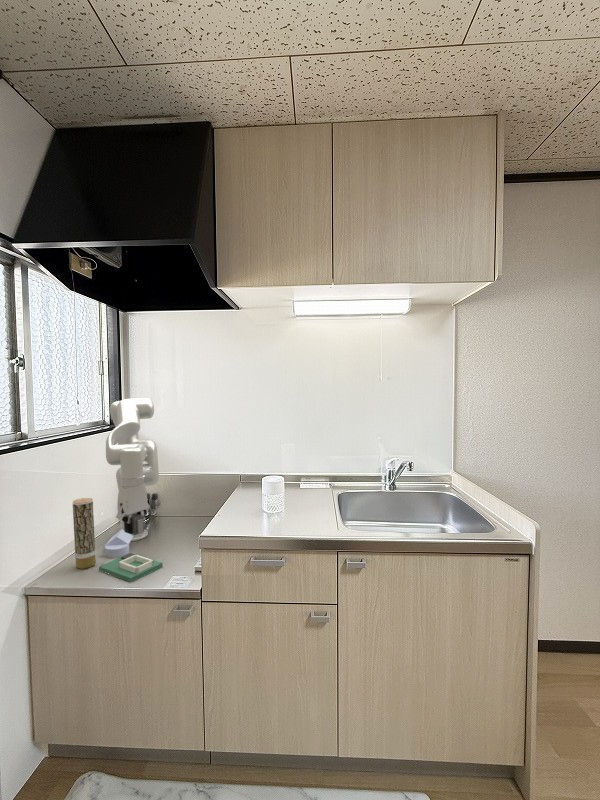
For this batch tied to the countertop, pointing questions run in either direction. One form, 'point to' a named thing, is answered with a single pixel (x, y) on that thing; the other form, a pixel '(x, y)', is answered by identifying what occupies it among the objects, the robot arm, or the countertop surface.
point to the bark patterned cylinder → (84, 532)
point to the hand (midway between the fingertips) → (134, 530)
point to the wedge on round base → (118, 544)
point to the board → (130, 567)
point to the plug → (137, 524)
